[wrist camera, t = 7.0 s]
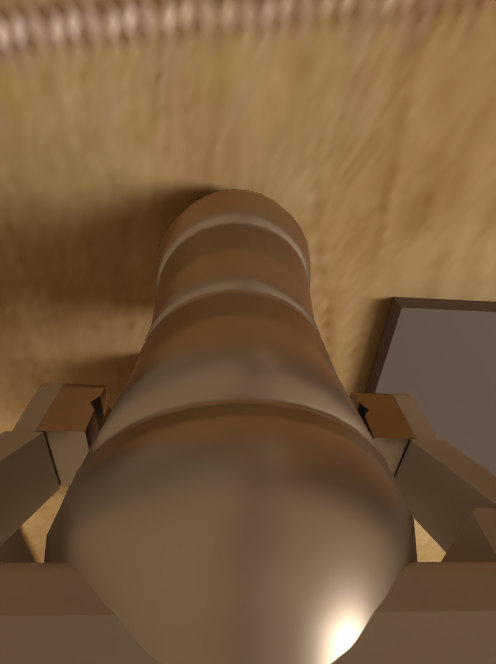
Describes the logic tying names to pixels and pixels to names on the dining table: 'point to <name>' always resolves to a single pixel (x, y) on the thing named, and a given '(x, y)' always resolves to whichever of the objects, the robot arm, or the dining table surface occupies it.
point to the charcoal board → (444, 369)
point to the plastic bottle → (235, 463)
